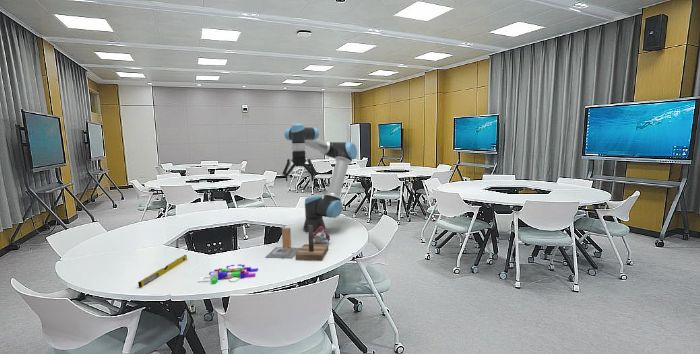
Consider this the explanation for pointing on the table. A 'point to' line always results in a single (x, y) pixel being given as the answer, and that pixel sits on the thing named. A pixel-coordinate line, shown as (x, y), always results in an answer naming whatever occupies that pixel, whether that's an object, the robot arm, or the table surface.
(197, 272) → the table surface
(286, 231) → the square frame with handle
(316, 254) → the wooden peg stand
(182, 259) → the spirit level
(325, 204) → the robot arm
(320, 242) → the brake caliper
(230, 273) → the building block set
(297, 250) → the rubber mat
